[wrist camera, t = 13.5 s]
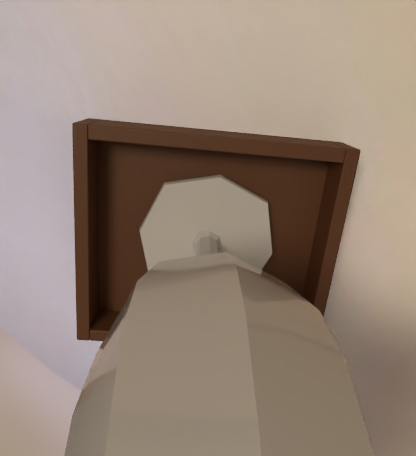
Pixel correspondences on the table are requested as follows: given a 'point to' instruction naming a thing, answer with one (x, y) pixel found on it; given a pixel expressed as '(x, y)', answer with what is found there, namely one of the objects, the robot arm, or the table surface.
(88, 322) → the tray
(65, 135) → the table surface
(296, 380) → the wineglass
